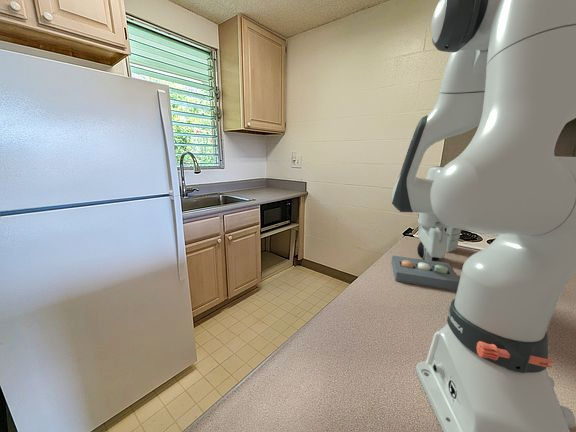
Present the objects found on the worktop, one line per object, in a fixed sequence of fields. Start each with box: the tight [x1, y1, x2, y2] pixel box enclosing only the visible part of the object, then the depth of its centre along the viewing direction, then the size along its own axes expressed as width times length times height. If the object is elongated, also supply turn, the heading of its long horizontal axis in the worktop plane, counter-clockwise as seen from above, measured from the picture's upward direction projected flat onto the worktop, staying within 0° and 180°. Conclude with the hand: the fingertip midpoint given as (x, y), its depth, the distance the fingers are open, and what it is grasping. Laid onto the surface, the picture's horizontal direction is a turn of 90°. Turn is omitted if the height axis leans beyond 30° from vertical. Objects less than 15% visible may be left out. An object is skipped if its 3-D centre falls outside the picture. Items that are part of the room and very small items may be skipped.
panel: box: [391, 255, 460, 292], centre depth 81 cm, size 14×18×3 cm
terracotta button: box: [401, 260, 414, 268], centre depth 82 cm, size 4×4×2 cm
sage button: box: [434, 265, 448, 274], centre depth 79 cm, size 4×4×2 cm
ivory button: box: [417, 262, 430, 271], centre depth 80 cm, size 4×4×2 cm
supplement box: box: [446, 227, 462, 253], centre depth 105 cm, size 7×7×13 cm
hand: (427, 260), depth 79 cm, fingers closed
